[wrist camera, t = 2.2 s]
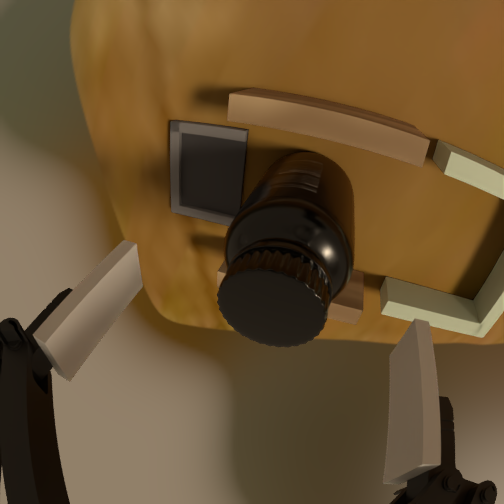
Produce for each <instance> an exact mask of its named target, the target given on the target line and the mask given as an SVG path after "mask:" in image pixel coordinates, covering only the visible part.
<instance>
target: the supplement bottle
mask: <svg viewBox="0 0 504 504" xmlns="http://www.w3.org/2000/svg"><path fill="white" fill-rule="evenodd" d="M354 246H355V226H354V195H353V189H352V185H351V183H350V180H349V178H348V176H347V175H346V173H345V172H344V171H343V169H342V168H341V167H340V166H339V165H338V164H336V163H335V162H334V161H332V160H331V159H329V158H327V157H325V156H323V155H320V154H316V153H311V152H298V153H293V154H289V155H286V156H284V157H282V158H280V159H279V160H277V161H276V162H275V163H274V164H273V165H272V166H271V167H270V168H269V169H268V170H267V172H266V173H265V174H264V176H263V177H262V178H261V180H260V181H259V183H258V184H257V186H256V187H255V189H254V190H253V191H252V193H251V194H250V196H249V197H248V199H247V200H246V202H245V203H244V204H243V206H242V207H241V209H240V210H239V212H238V213H237V215H236V216H235V218H234V219H233V221H232V223H231V224H230V226H229V228H228V231H227V233H226V236H225V241H224V257H225V263H226V266H227V271H226V274H225V276H224V278H223V280H222V282H221V284H220V286H219V291H218V293H217V296H218V301H217V303H218V305H219V306H220V307H219V310H220V311H221V313H222V314H223V317H224V318H225V319H226V320H227V322H228V324H229V325H231V326H232V327H233V328H234V330H236V331H237V332H239V333H240V334H241V335H242V336H245V337H247V338H249V339H250V340H253V341H256V342H258V343H260V344H266V345H268V346H276V347H291V346H298V345H300V344H305V343H307V342H308V341H311V340H313V339H314V337H316V336H318V335H319V333H320V331H321V330H323V328H324V325H325V322H326V320H327V316H328V309H329V306H330V304H331V301H333V300H334V299H335V298H336V297H337V296H338V295H339V294H340V293H341V292H342V291H343V290H344V288H345V287H346V286H347V284H348V282H349V280H350V278H351V275H352V272H353V266H354Z"/></svg>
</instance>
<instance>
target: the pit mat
mask: <svg viewBox="0 0 504 504" xmlns="http://www.w3.org/2000/svg"><path fill="white" fill-rule="evenodd" d="M248 130H249V129H242V128H236V127H229V126H222V125H215V124H207V123H199V122H190V121H180V120H173V121H170V182H171V212H174V213H178V214H182V215H186V216H190V217H194V218H199V219H203V220H207V221H211V222H215V223H219V224H223V225H227V226H230V224H231V223H232V221H233V219H234V218H235V216H236V215H237V213H238V212H239V210H240V208H241V198H242V188H243V178H244V168H245V158H246V149H247V139H248Z"/></svg>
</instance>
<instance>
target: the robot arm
mask: <svg viewBox="0 0 504 504" xmlns="http://www.w3.org/2000/svg"><path fill="white" fill-rule="evenodd" d="M142 287H143V284H142V278H141V272H140V265H139V258H138V252H137V244H136V243H133V242H129V241H126V240H123V242H121V243H120V244H119V245H118V246H117V247H116V248H115V249H114V250H113V251H112V252H111V253H110V254H109V255H108V256H107V257H105V258H104V259H103V260H102V262H100V263H99V264H98V265H97V266H96V267H95V268H94V269H93V270H92V271H91V272H90V273H89V274H88V275H87V276H86V277H85V278H84V280H82V281H81V283H80V284H78V285H77V287H76V288H75V289H74V290H72V289H70V288H68V289H66V290H64V291H63V292H61V293H59V294H58V295H57V296H56V297H55V298H54V299H53V301H52V303H50V304H49V305H48V306H47V307H46V309H44V310H43V311H42V312H41V313H40V314H39V316H38V317H37V318H36V319H35V320H34V321H33V322H32V323H31V324H30V326H29V327H28V328H27V329H26V330H25V331H24V330H23V328H22V326H21V325H20V323H19V322H18V320H17V319H15V318H7V319H4V320H3V321H2V322H1V323H0V481H1V467H2V468H3V477H4V484H5V489H6V496H7V501H8V504H70V502H69V498H68V494H67V490H66V486H65V482H64V477H63V472H62V467H61V461H60V456H59V450H58V443H57V436H56V428H55V419H54V409H53V394H52V375H51V371H50V370H51V369H52V367H54V369H55V370H56V372H57V373H58V374H59V375H61V376H62V377H63V378H65V379H66V380H68V381H71V380H72V378H73V377H74V375H75V374H76V373H77V371H78V370H79V369H80V367H81V366H82V364H83V363H84V362H85V360H86V359H87V357H88V356H89V355H90V353H91V352H92V351H93V349H94V348H95V347H96V346H97V344H98V343H99V342H100V340H101V339H102V338H103V336H104V335H105V334H106V332H107V331H108V330H109V328H110V327H111V326H112V324H113V323H114V322H115V320H116V319H117V318H118V317H119V316H120V314H121V313H122V312H123V310H124V309H125V308H126V307H127V305H128V304H129V303H130V301H131V300H132V299H133V298H134V296H135V295H136V294H137V293H138V292H139V290H140V289H141V288H142ZM453 419H454V418H453V408H452V406H451V403H450V401H449V398H448V397H440V396H439V393H438V383H437V373H436V365H435V358H434V350H433V343H432V337H431V331H430V325H429V321H424V320H420V319H416V318H415V319H414V320H413V322H412V323H411V325H410V326H409V328H408V330H407V331H406V333H405V334H404V335H403V337H402V338H401V340H400V341H399V343H398V344H397V346H396V347H395V349H394V350H393V351H392V353H391V354H390V402H389V424H388V439H387V451H386V461H385V470H384V478H383V484H401V483H404V482H406V481H407V487H405V488H403V489H400V490H398V491H396V492H395V493H394V495H397V494H399V493H400V494H399V495H398V496H397V497H396V498H395V499H394V500H393V501H392V502H391V503H390V504H494V503H495V500H496V496H497V488H496V486H495V484H494V483H493V482H492V481H488V480H487V481H484V482H481V483H480V484H477V483H474V482H471V481H468V480H465V479H464V478H463V477H462V474H461V473H460V471H459V470H457V469H456V467H455V436H454V422H453Z"/></svg>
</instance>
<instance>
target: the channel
mask: <svg viewBox="0 0 504 504" xmlns="http://www.w3.org/2000/svg"><path fill="white" fill-rule="evenodd" d="M227 121H232V122H239V123H246V124H252V125H258V126H264V127H269V128H275V129H280V130H285V131H290V132H295V133H300V134H305V135H309V136H314V137H318V138H322V139H326V140H331V141H335V142H339V143H342V144H346V145H350V146H354V147H357V148H361V149H365V150H368V151H372V152H375V153H378V154H382V155H385V156H388V157H391V158H395V159H398V160H401V161H404V162H407V163H410V164H413V165H416V166H419V167H421V168H422V166H423V163H424V160H425V157H426V153H427V150H428V147H429V143H430V140H429V139H428V138H427V137H426V136H425V135H424V134H422V133H421V132H420V131H419V130H418V129H417V128H416V127H415V126H414V125H411V124H408V123H405V122H402V121H399V120H396V119H393V118H390V117H387V116H383V115H380V114H377V113H373V112H370V111H366V110H362V109H359V108H355V107H351V106H347V105H343V104H339V103H335V102H330V101H326V100H321V99H317V98H312V97H307V96H302V95H296V94H291V93H285V92H279V91H272V90H266V89H258V88H250V89H246V90H242V91H238V92H234V93H230V94H229V104H228V116H227ZM226 271H227V266H226V263H225V260H224V262H223V264H222V265H221V267H220V268H219V270H218V277H217V287H219V286H220V284H221V282H222V280H223V278H224V276H225V274H226ZM363 291H364V273H363V272H359V271H356V270H353V272H352V275H351V278H350V280H349V282H348V284H347V286H346V287H345V288H344V290H343V291H342V292H341V293H340V294H339V295H338V296H337V297H336V298H335V299H334V300H333V301H331V304H330V306H329V309H328V316H327V318H330V319H334V320H338V321H342V322H346V323H350V324H354V325H356V323H357V322H358V320H359V318H360V316H361V314H362V312H363Z"/></svg>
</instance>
